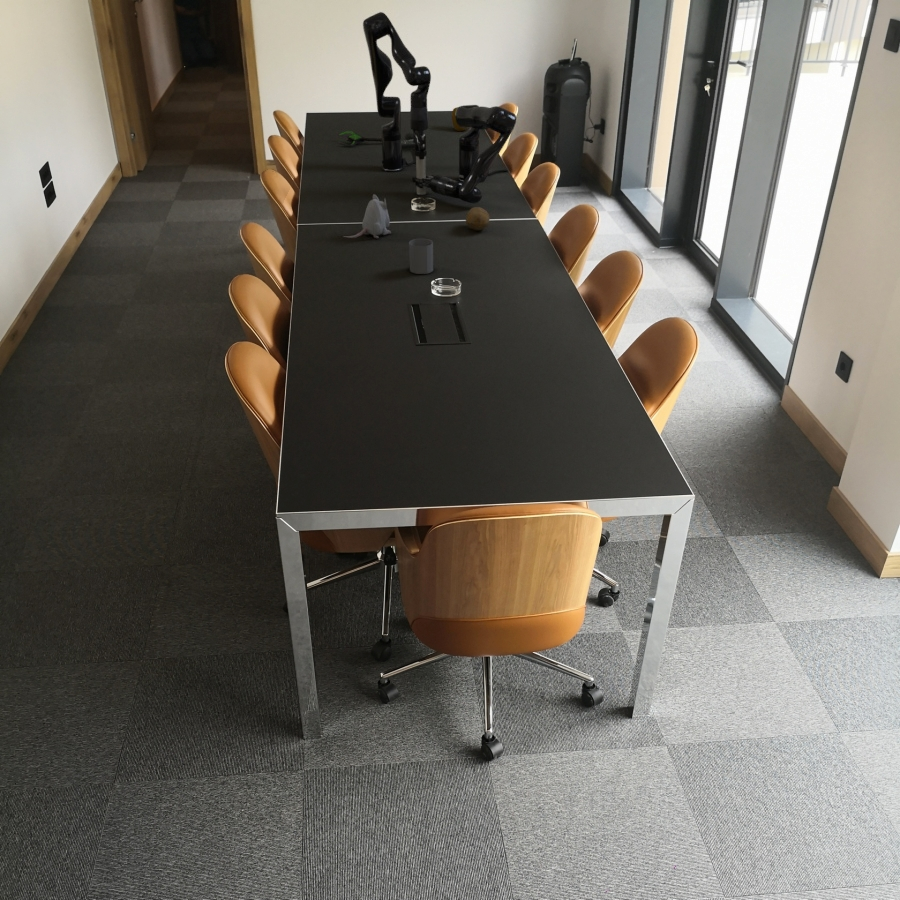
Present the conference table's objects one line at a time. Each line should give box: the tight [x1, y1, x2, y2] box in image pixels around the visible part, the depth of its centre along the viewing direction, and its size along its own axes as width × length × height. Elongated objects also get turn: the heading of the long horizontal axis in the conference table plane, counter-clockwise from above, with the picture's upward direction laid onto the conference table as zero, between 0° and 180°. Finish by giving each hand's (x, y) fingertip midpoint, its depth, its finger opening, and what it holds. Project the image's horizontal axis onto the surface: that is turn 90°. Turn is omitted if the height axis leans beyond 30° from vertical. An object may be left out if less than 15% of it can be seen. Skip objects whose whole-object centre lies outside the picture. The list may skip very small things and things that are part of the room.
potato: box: [465, 206, 491, 231], centre depth 344 cm, size 10×14×8 cm
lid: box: [414, 149, 428, 157], centre depth 378 cm, size 5×5×2 cm
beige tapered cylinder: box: [415, 155, 427, 196], centre depth 383 cm, size 4×4×18 cm
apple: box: [451, 106, 469, 132], centre depth 487 cm, size 11×11×13 cm
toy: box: [343, 193, 392, 239], centre depth 332 cm, size 9×24×15 cm, turn 137°
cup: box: [408, 237, 434, 275], centre depth 305 cm, size 8×8×10 cm
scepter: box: [337, 130, 382, 148], centre depth 462 cm, size 6×13×30 cm
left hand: (419, 156), depth 379 cm, fingers open, 7 cm apart
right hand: (417, 178), depth 386 cm, fingers closed on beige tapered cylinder, 4 cm apart
